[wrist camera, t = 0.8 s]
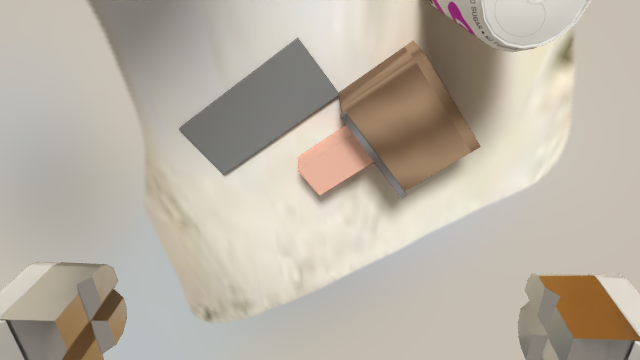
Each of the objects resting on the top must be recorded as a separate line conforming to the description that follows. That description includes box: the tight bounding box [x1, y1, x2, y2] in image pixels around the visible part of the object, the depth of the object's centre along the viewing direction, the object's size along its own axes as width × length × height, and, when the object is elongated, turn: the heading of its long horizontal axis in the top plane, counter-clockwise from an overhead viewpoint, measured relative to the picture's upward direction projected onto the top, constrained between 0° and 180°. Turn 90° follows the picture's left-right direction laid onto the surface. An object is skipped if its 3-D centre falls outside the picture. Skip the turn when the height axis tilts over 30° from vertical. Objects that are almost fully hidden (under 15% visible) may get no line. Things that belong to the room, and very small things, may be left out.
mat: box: [179, 38, 339, 175], centre depth 46 cm, size 7×16×1 cm, turn 126°
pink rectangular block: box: [298, 125, 374, 196], centre depth 47 cm, size 4×14×4 cm, turn 126°
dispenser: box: [339, 41, 480, 198], centre depth 44 cm, size 11×9×6 cm
